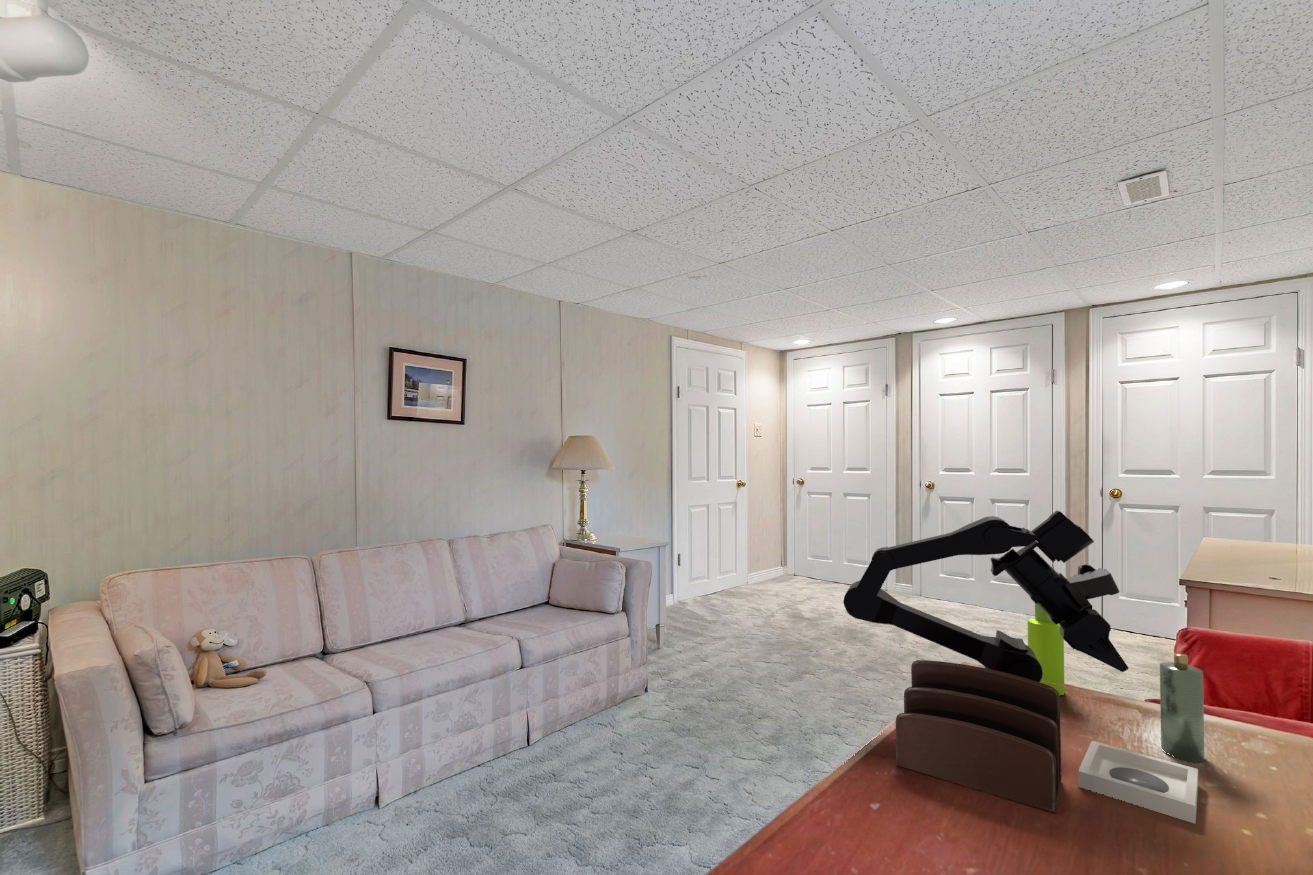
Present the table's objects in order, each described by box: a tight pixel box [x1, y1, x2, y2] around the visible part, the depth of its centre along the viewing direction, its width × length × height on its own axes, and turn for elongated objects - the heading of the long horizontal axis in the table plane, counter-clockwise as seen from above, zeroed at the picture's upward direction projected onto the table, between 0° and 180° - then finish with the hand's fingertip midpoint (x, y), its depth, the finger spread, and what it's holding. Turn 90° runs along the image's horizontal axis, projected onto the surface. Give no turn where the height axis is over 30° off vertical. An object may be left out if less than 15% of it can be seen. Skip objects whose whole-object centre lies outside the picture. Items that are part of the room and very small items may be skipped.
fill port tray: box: [1077, 740, 1199, 825], centre depth 83 cm, size 12×12×2 cm
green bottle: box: [1159, 652, 1206, 763], centre depth 92 cm, size 5×5×15 cm
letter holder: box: [895, 659, 1063, 815], centre depth 87 cm, size 10×20×14 cm, turn 53°
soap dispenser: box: [1027, 602, 1065, 697], centre depth 117 cm, size 6×7×20 cm
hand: (1118, 660), depth 95 cm, fingers open, 9 cm apart
